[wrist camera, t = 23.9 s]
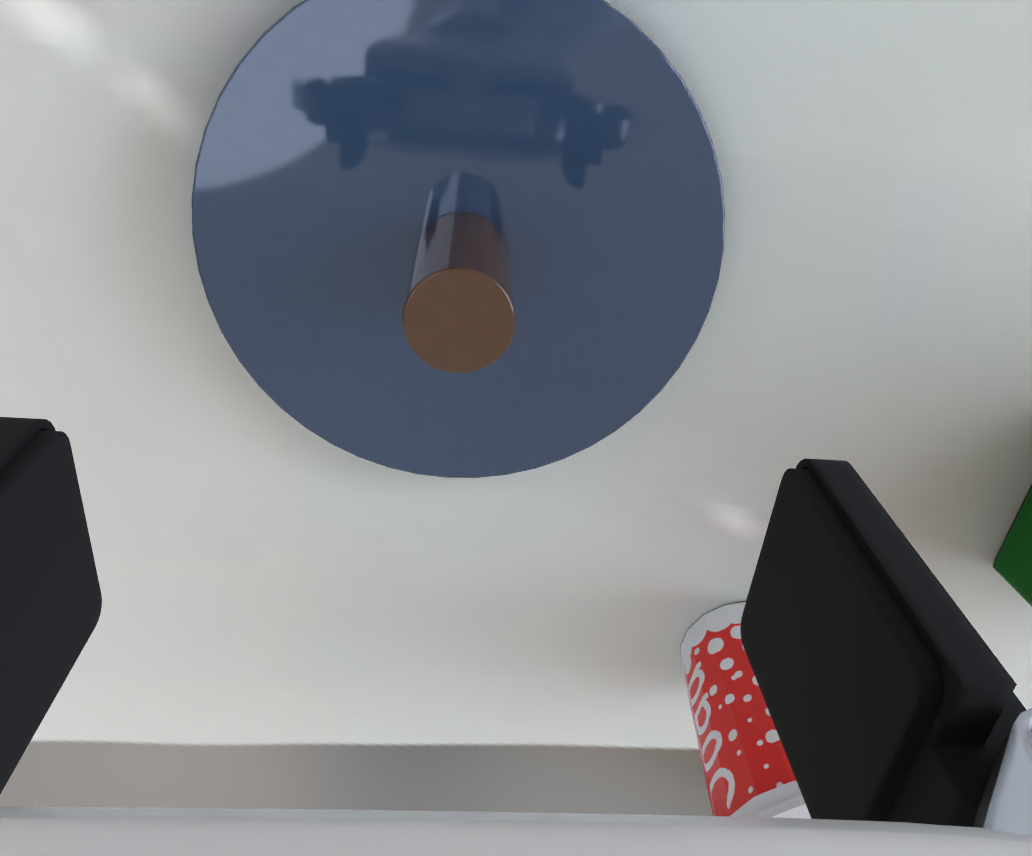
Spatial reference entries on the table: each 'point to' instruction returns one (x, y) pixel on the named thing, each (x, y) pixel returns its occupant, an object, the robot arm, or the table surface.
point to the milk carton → (1018, 553)
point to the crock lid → (458, 226)
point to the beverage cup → (735, 724)
